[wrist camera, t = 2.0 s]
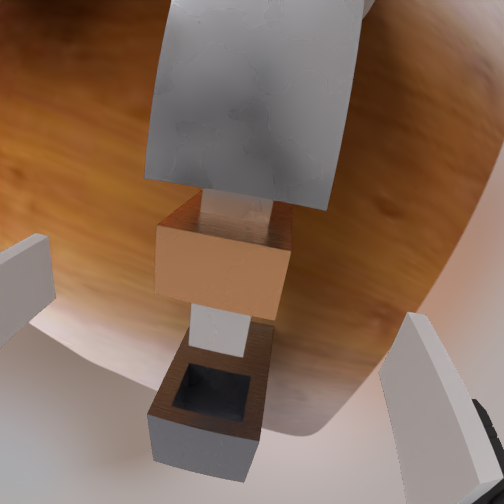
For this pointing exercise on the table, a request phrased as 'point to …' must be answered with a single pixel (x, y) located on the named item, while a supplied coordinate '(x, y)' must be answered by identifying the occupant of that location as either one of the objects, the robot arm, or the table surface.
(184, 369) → the socket
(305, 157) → the sleeve
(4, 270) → the robot arm
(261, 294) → the plug
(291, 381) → the table surface
